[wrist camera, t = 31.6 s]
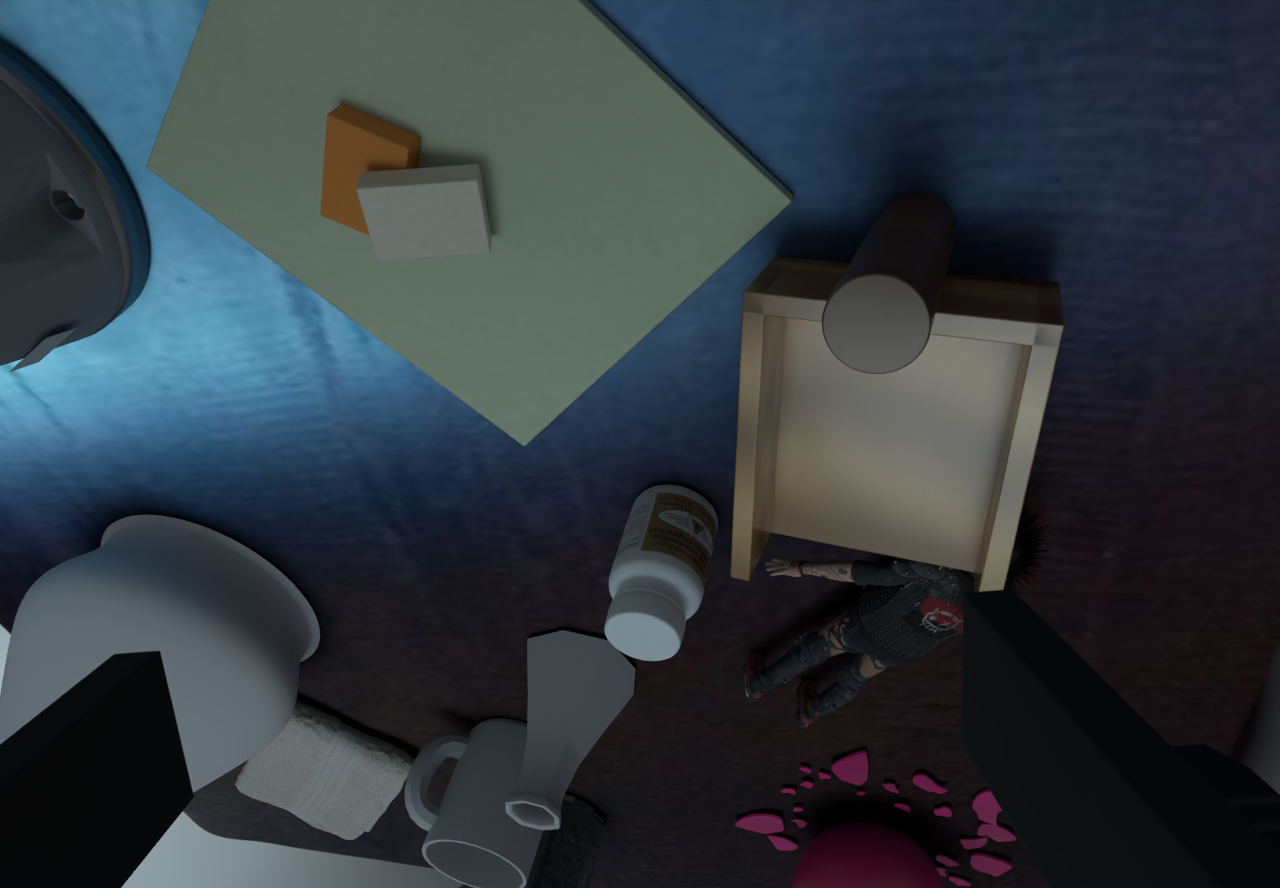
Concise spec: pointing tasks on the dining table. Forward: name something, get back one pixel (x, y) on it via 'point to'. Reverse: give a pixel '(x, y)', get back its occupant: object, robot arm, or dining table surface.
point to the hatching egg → (879, 841)
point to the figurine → (881, 620)
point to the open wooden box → (892, 400)
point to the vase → (169, 635)
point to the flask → (565, 717)
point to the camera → (567, 848)
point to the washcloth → (327, 773)
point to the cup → (475, 806)
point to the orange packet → (360, 160)
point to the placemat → (510, 171)
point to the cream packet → (425, 212)
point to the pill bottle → (660, 571)
